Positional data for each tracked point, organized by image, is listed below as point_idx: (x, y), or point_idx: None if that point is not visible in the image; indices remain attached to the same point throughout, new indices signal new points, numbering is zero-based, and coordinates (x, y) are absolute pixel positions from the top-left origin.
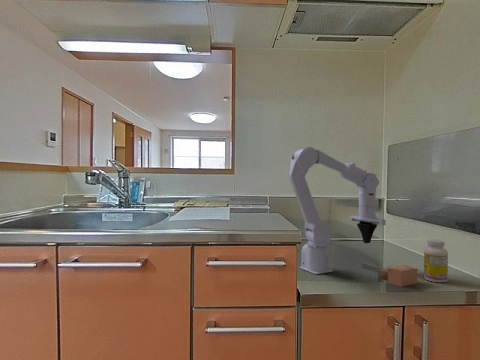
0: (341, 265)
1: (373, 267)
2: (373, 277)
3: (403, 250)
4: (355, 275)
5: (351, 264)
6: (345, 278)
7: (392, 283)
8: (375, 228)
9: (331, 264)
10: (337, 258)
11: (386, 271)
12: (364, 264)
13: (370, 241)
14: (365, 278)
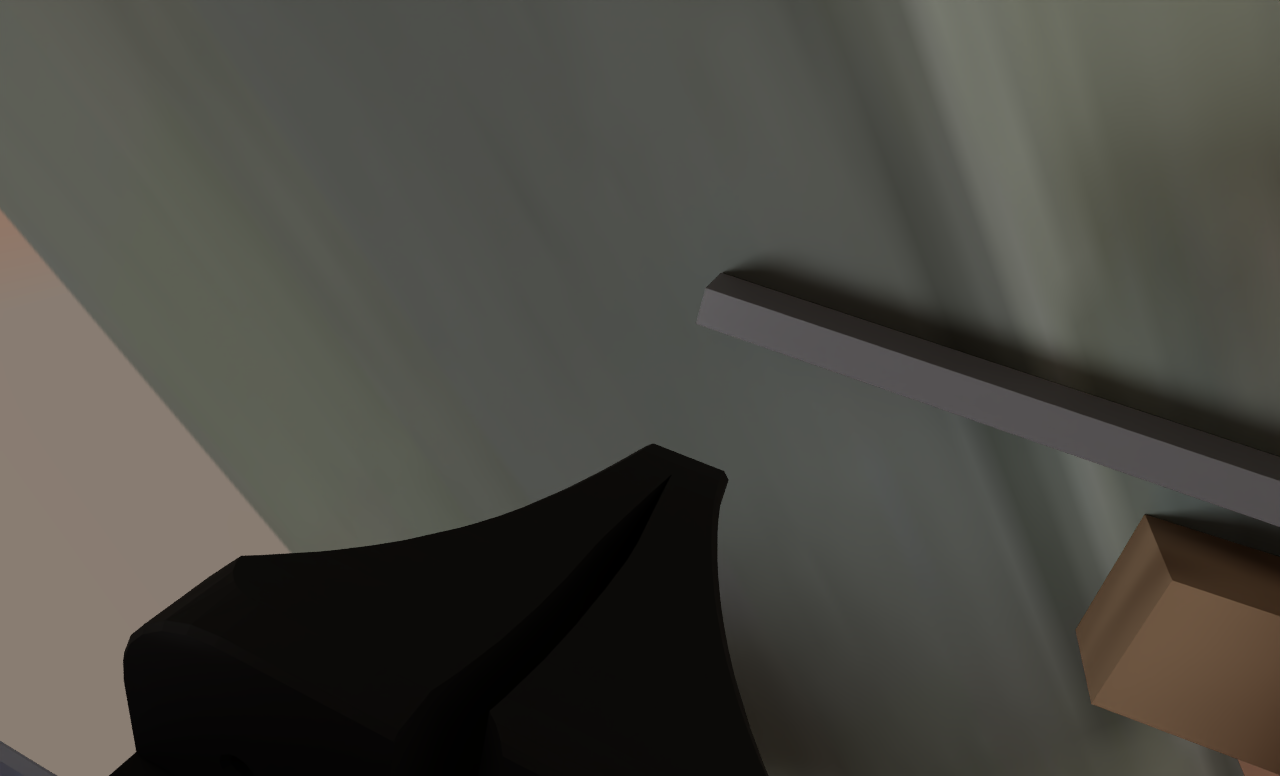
0: (518, 396)
1: (893, 385)
2: (1007, 630)
3: None
4: (818, 653)
5: (558, 275)
6: (793, 771)
7: None
8: (757, 754)
9: (437, 426)
10: (295, 124)
11: (1210, 720)
12: (737, 334)
13: (723, 489)
14: (946, 698)
